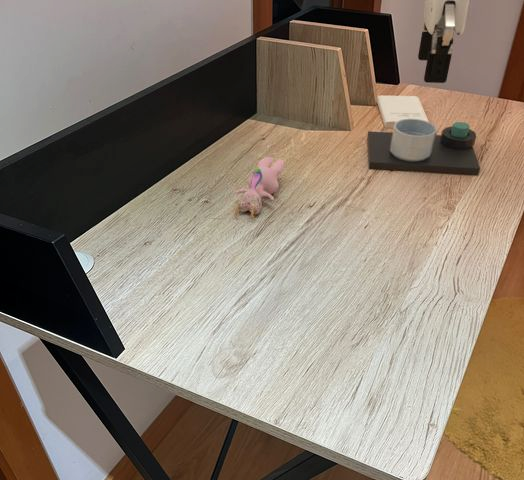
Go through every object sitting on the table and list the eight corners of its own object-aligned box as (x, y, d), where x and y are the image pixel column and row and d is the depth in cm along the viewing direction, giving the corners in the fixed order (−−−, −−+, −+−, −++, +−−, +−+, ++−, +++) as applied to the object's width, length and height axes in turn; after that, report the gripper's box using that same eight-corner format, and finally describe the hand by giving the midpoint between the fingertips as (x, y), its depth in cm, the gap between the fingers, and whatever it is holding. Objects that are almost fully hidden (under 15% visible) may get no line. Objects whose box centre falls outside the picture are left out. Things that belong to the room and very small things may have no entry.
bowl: (428, 145, 99) (434, 119, 96) (432, 164, 94) (438, 137, 91) (388, 143, 100) (392, 117, 96) (390, 161, 95) (395, 135, 92)
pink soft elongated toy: (264, 231, 84) (295, 171, 93) (262, 198, 80) (295, 138, 88) (225, 222, 86) (259, 164, 94) (221, 190, 81) (257, 132, 89)
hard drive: (416, 104, 116) (428, 130, 107) (376, 103, 116) (384, 129, 107) (418, 95, 115) (430, 121, 106) (377, 95, 115) (385, 120, 106)
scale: (468, 143, 103) (473, 127, 101) (480, 176, 94) (485, 159, 92) (366, 137, 104) (369, 121, 102) (368, 169, 96) (371, 152, 93)
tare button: (465, 132, 100) (468, 122, 99) (468, 139, 98) (470, 129, 97) (449, 131, 100) (452, 121, 99) (451, 138, 99) (454, 128, 97)
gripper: (498, -54, 69) (464, 92, 81) (475, -77, 81) (448, 52, 93) (435, -54, 70) (410, 90, 82) (421, -77, 82) (402, 51, 94)
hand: (431, 70), depth 87 cm, fingers open, 9 cm apart
